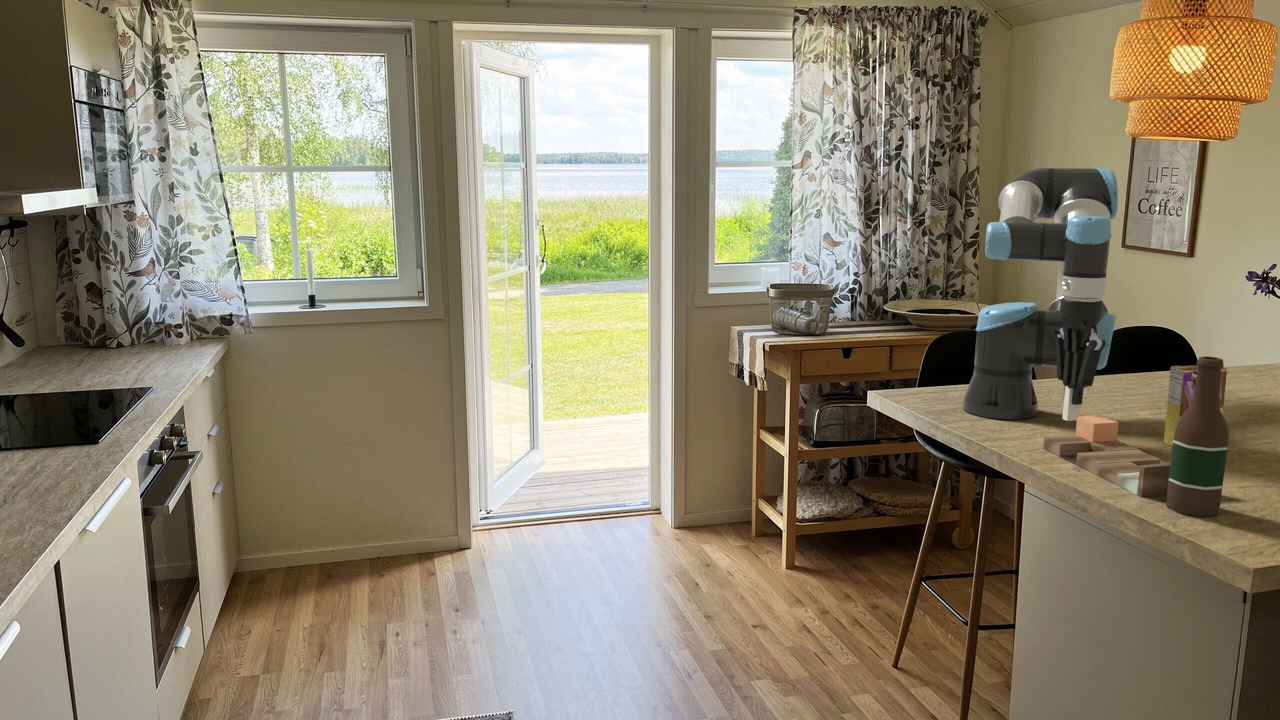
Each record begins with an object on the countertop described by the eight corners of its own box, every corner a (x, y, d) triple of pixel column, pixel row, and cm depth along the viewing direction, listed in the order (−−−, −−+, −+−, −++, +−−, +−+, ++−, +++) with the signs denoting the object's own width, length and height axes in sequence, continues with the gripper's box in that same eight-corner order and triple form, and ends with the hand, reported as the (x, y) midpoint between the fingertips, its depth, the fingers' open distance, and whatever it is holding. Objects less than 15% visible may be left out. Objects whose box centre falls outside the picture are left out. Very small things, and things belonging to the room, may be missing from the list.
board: (1043, 448, 183) (1045, 423, 182) (1100, 445, 185) (1103, 419, 184) (1141, 496, 157) (1144, 467, 156) (1206, 492, 159) (1210, 462, 158)
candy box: (1205, 441, 188) (1214, 363, 185) (1220, 447, 184) (1230, 368, 180) (1161, 442, 187) (1170, 364, 184) (1175, 449, 183) (1185, 369, 180)
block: (1075, 434, 183) (1077, 416, 183) (1099, 433, 184) (1101, 415, 184) (1092, 442, 179) (1094, 423, 178) (1116, 440, 180) (1118, 422, 179)
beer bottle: (1174, 516, 148) (1192, 362, 143) (1156, 499, 156) (1173, 352, 151) (1229, 519, 147) (1250, 364, 142) (1209, 502, 154) (1228, 353, 150)
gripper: (1044, 294, 190) (1034, 412, 194) (1085, 303, 177) (1074, 429, 182) (1078, 293, 191) (1068, 410, 196) (1122, 302, 178) (1110, 427, 183)
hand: (1070, 419), depth 189 cm, fingers closed
